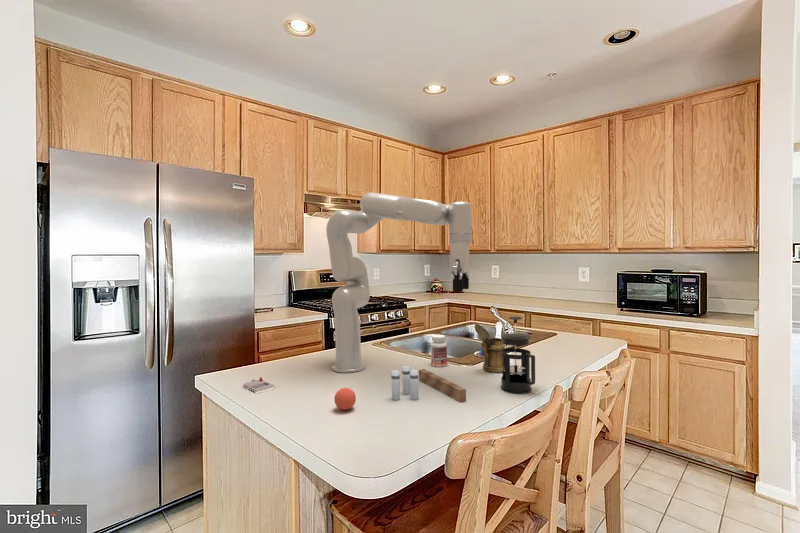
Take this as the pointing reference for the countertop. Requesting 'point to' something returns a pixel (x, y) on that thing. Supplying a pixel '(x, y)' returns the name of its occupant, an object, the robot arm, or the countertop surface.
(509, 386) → the french press
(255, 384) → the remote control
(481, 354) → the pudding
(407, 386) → the pin
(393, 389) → the front pin
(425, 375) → the back wall
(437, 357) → the pill bottle
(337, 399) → the ball
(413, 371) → the pin
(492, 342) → the wooden mug
